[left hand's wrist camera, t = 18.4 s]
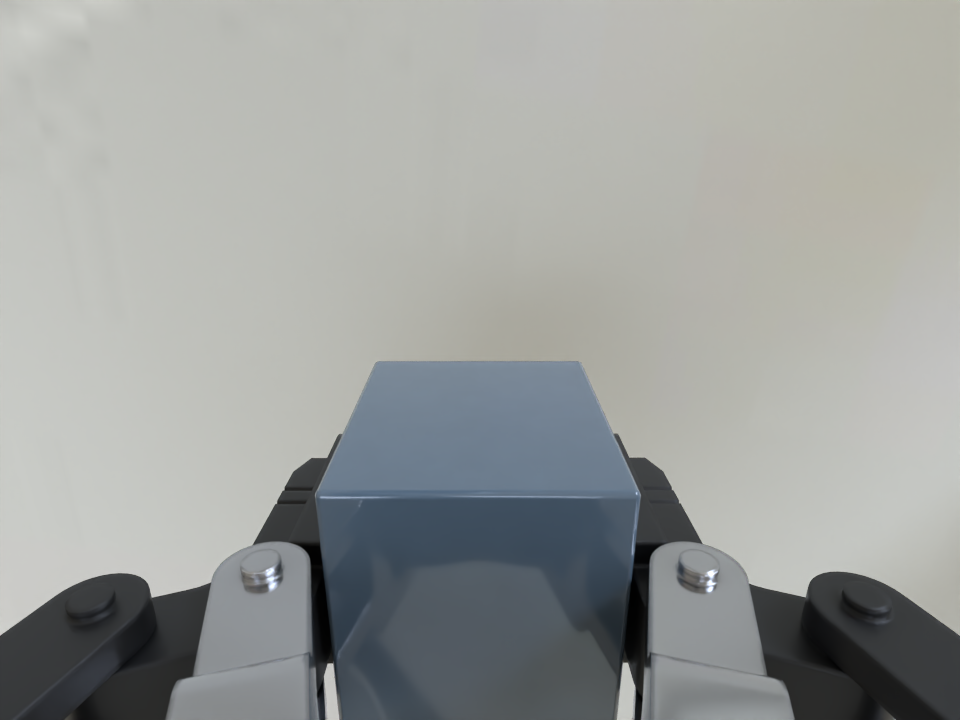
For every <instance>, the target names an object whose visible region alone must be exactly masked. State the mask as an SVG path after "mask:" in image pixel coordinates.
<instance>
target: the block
mask: <svg viewBox="0 0 960 720" xmlns="http://www.w3.org/2000/svg"><path fill="white" fill-rule="evenodd" d="M640 500H641V494H640V492H639V489H638V487H637V485H636V483H635V481H634V478H633V476H632V474H631V472H630V469H629V467H628V465H627V463H626V461H625V458H624V456H623V454H622V452H621V450H620V447H619V445H618V443H617V441H616V439H615V436H614V434H613V432H612V430H611V428H610V425H609V423H608V421H607V419H606V416H605V414H604V412H603V410H602V408H601V405H600V403H599V401H598V399H597V397H596V394H595V392H594V390H593V388H592V386H591V383H590V381H589V379H588V377H587V375H586V372H585V370H584V368H583V366H582V363H581V362H578V361H379V362H376V363H375V365H374V367H373V369H372V371H371V374H370V376H369V378H368V380H367V382H366V384H365V387H364V389H363V391H362V393H361V395H360V398H359V400H358V402H357V404H356V406H355V408H354V411H353V413H352V415H351V417H350V419H349V422H348V424H347V426H346V428H345V430H344V432H343V435H342V437H341V439H340V441H339V443H338V446H337V448H336V450H335V452H334V454H333V456H332V459H331V461H330V463H329V465H328V467H327V469H326V472H325V474H324V476H323V478H322V480H321V483H320V485H319V487H318V489H317V491H316V494H315V502H316V511H317V520H318V529H319V538H320V548H321V557H322V566H323V575H324V584H325V593H326V602H327V611H328V621H329V630H330V639H331V648H332V657H333V666H334V675H335V685H336V694H337V703H338V712H339V720H617V714H618V705H619V696H620V686H621V677H622V668H623V658H624V649H625V640H626V630H627V621H628V612H629V602H630V593H631V584H632V574H633V565H634V556H635V546H636V537H637V528H638V519H639V509H640Z"/></svg>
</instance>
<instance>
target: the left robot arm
mask: <svg viewBox="0 0 960 720" xmlns="http://www.w3.org/2000/svg"><path fill="white" fill-rule="evenodd" d="M342 435H343V434H339V435H338V437H337V439H336V441H335V443H334V445H333V447H332V449H331V451H330V453H329V455H328V458H311V459H310V460H309V461H307V462H306V463H305V464H303V465H302V466H301V467H299V468H298V469H297V470H295V471H294V472H293V474H292V475H291V477H290V479H289V481H288V483H287V484H286V486H285V491H283V492H282V493H281V495H280V497H279V499H278V501H277V504H275V506H274V508H273V510H272V511H271V513H270V515H269V517H268V519H267V520H266V522H265V524H264V526H263V528H262V529H261V531H260V533H259V535H258V537H257V538H256V540H255V542H254V544H253V545H252V546H249V547H247V548H244V549H242V550H240V551H238V552H236V553H234V554H233V555H231V556H230V557H228V558H227V559H226V560H224V561H223V562H222V563H221V564H220V565H219V567H218V568H217V569H216V571H215V573H214V575H213V578H212V581H211V583H209V584H206V585H203V586H201V587H197V588H194V589H190V590H186V591H181V592H176V593H172V594H167V595H163V596H158V597H154V598H152V597H151V593H150V589H149V586H148V584H147V582H146V581H145V580H144V579H142V578H141V577H139V576H136V575H132V574H123V573H118V574H108V575H102V576H98V577H95V578H91V579H88V580H85V581H83V582H80V583H78V584H76V585H73V586H72V587H70V588H68V589H66V590H64V591H63V592H61V593H59V594H58V595H56V596H55V597H54V598H52V599H51V600H49V601H48V602H47V603H45V604H44V605H42V606H41V607H40V608H38V609H37V610H35V611H34V612H33V613H31V614H30V615H28V616H27V617H26V618H24V619H23V620H22V621H20V622H19V623H17V624H16V625H15V626H13V627H12V628H10V629H9V630H8V631H6V632H5V633H3V634H2V635H1V636H0V720H327V702H326V692H325V683H324V674H325V670H326V667H327V663H333V657H332V648H331V639H330V630H329V621H328V611H327V602H326V593H325V584H324V575H323V566H322V557H321V548H320V538H319V529H318V520H317V511H316V502H315V494H316V491H317V489H318V487H319V485H320V483H321V480H322V478H323V476H324V474H325V472H326V469H327V467H328V465H329V463H330V461H331V459H332V456H333V454H334V452H335V450H336V448H337V446H338V443H339V441H340V439H341V437H342ZM614 436H615V439H616V441H617V443H618V445H619V447H620V450H621V452H622V454H623V456H624V458H625V461H626V463H627V465H628V467H629V469H630V472H631V474H632V476H633V478H634V481H635V483H636V485H637V487H638V489H639V492H640V494H641V500H640V509H639V519H638V528H637V537H636V546H635V556H634V565H633V574H632V584H631V593H630V602H629V612H628V621H627V630H626V640H625V649H624V658H623V663H628V664H629V667H630V671H631V674H632V678H633V681H634V684H635V691H634V701H633V720H895V719H896V720H960V636H959V635H958V634H957V633H955V632H954V631H952V630H951V629H950V628H948V627H947V626H945V625H944V624H943V623H941V622H940V621H938V620H937V619H936V618H934V617H933V616H932V615H930V614H929V613H927V612H926V611H925V610H923V609H922V608H920V607H919V606H918V605H916V604H915V603H913V602H912V601H911V600H909V599H908V598H906V597H905V596H904V595H902V594H901V593H899V592H898V591H896V590H895V589H893V588H891V587H889V586H887V585H886V584H883V583H881V582H879V581H877V580H874V579H871V578H869V577H866V576H862V575H858V574H854V573H848V572H828V573H823V574H820V575H817V576H816V577H815V578H813V579H812V580H811V582H810V584H809V586H808V590H807V595H806V598H805V597H801V596H796V595H792V594H787V593H783V592H778V591H774V590H769V589H765V588H761V587H757V586H754V585H751V584H749V582H748V578H747V575H746V573H745V571H744V569H743V568H742V567H741V565H740V564H739V563H738V562H737V561H735V560H734V559H733V558H732V557H730V556H729V555H727V554H726V553H724V552H722V551H720V550H718V549H716V548H713V547H711V546H708V545H704V544H702V542H701V540H700V538H699V536H698V535H697V533H696V531H695V529H694V527H693V525H692V524H691V522H690V520H689V518H688V516H687V514H686V513H685V511H684V509H683V507H682V505H681V504H679V500H678V498H677V496H676V494H675V493H674V491H673V490H672V487H671V485H670V483H669V482H668V480H667V478H666V476H665V474H664V472H663V471H662V470H660V469H659V468H658V467H656V466H655V465H654V464H652V463H651V462H650V461H649V460H647V459H646V458H629V456H628V454H627V452H626V450H625V448H624V446H623V443H622V441H621V439H620V437H619V435H618V434H614Z"/></svg>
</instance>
